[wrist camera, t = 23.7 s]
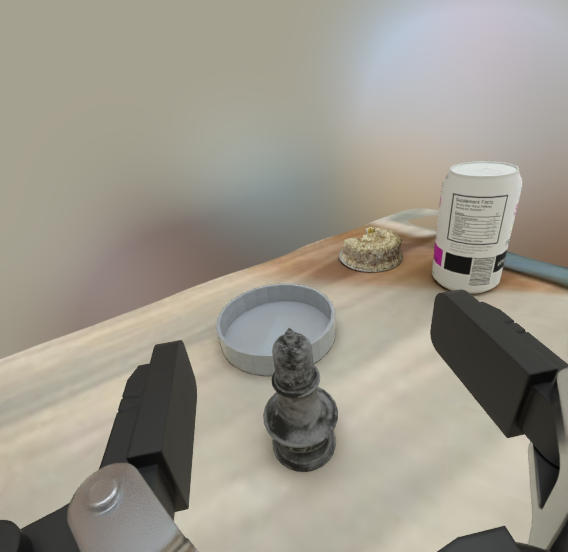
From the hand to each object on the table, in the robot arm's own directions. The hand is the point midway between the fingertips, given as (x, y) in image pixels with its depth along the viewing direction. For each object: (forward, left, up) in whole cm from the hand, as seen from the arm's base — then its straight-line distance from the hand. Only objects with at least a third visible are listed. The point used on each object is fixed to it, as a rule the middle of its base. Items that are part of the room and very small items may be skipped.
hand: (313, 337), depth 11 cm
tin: (-2, +24, -19) cm, 31 cm away
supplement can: (+24, +30, -19) cm, 43 cm away
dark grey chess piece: (-1, +10, -19) cm, 22 cm away
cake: (+14, +40, -19) cm, 47 cm away
